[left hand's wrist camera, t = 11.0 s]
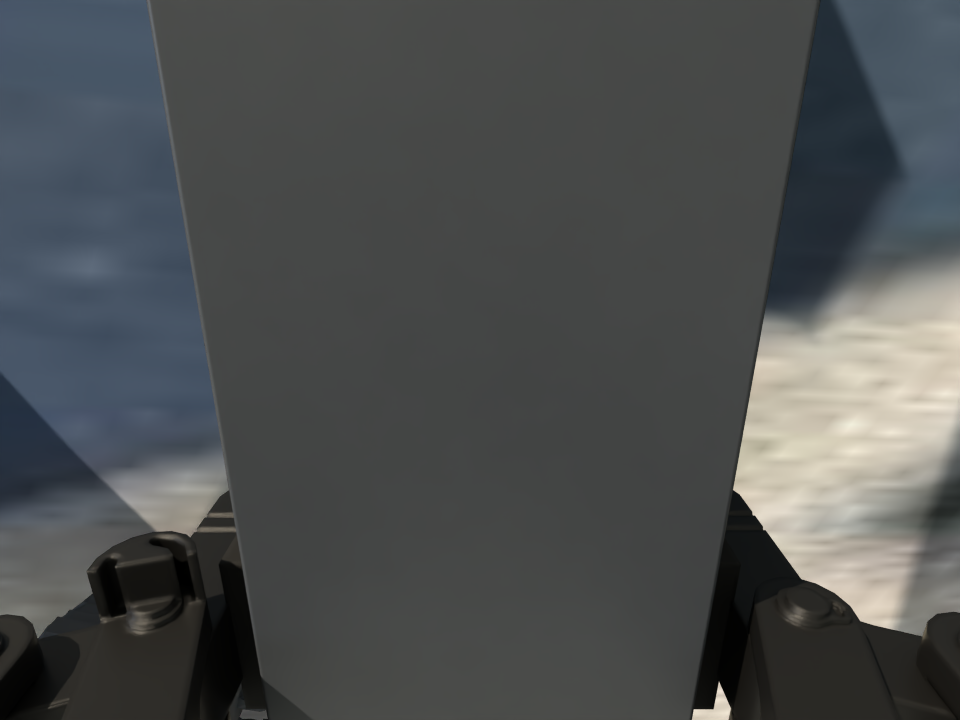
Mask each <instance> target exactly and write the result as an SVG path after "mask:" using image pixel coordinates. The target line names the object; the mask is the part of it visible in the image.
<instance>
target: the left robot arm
mask: <svg viewBox="0 0 960 720" xmlns="http://www.w3.org/2000/svg"><path fill="white" fill-rule="evenodd" d="M207 515H208V516H207V518H204V520H203V521H202V522H201V524H200V525H199V527H198V528H197V532H194V533H193V535H192V536H191V538H190V537H189V536H187V535H186V534H182V533H177V532H173V531H166V532H152V533H148V534H144V535H140V536H137V537H133V538H130V539H128V540H126V541H124V542H122V543H120V544H117V545H115V546H113V547H112V548H110V549H109V550H107V551H106V552H105V553H103V554H102V555H101V556H99V557H98V558H97V559H96V560H95V561H94V562H93V564H92V565H91V566H90V568H89V569H88V570H87V575H88V578H89V581H90V585H91V588H92V592H93V595H94V599H95V602H96V606H97V609H98V613H99V616H100V620H101V621H100V624H97V625H94V626H91V627H87V628H84V629H79V630H75V631H71V632H66V633H62V634H58V635H53V636H49V637H45V638H40V639H38V638H37V635H36V633H35V630H34V627H33V624H32V623H31V622H29V621H28V620H27V619H26V618H24V617H23V616H15V615H1V616H0V720H231V716H230V711H229V709H230V707H231V704H232V702H233V700H234V698H235V695H236V693H237V691H238V688H239V686H240V684H241V685H242V691H243V696H244V701H245V706H246V709H266V705H265V699H264V693H263V687H262V681H261V675H260V669H259V663H258V657H257V651H256V645H255V639H254V634H253V628H252V622H251V616H250V610H249V604H248V598H247V592H246V586H245V580H244V574H243V569H242V563H241V557H240V551H239V545H238V539H237V533H236V527H235V521H234V515H233V509H232V503H231V498H230V492H229V491H227V492H226V493H225V494H223V495H222V496H220V497H219V499H218V500H217V502H216V503H215V504H214V506H213V507H212V509H211V510H210V511H209V513H208V514H207ZM719 682H720V684H721V687H722V689H723V691H724V693H725V696H726V698H727V700H728V703H729V705H730V707H731V711H730V716H729V720H960V613H957V612H949V613H941V614H936V615H935V616H934V617H933V618H931V619H930V620H929V621H928V622H927V625H926V628H925V631H924V634H923V637H922V636H918V635H913V634H909V633H904V632H900V631H896V630H891V629H887V628H883V627H878V626H874V625H871V624H867V623H864V622H861V621H860V620H859V619H858V617H857V616H856V614H855V613H854V611H853V610H852V608H851V607H850V606H849V605H848V604H847V603H846V602H845V601H843V600H842V599H841V598H840V597H839V596H837V595H836V594H835V593H833V592H831V591H829V590H827V589H825V588H823V587H821V586H820V585H818V584H816V583H812V582H809V581H805V580H802V579H801V578H800V577H799V576H798V574H797V573H796V571H795V570H794V569H793V567H792V566H791V565H790V563H789V562H788V560H787V559H786V558H785V556H784V555H783V554H782V552H781V551H780V549H779V548H778V547H777V545H776V544H775V543H774V541H773V540H772V538H771V537H770V536H769V534H768V533H767V532H766V530H763V526H762V525H761V523H760V522H759V521H758V519H757V518H756V516H753V515H752V511H751V510H750V508H749V507H748V505H747V504H746V503H745V501H744V500H743V499H742V497H741V496H740V495H739V494H738V493H736V492H735V491H734V490H733V492H732V498H731V503H730V509H729V514H728V520H727V526H726V531H725V537H724V542H723V548H722V553H721V559H720V565H719V570H718V576H717V581H716V587H715V593H714V598H713V604H712V609H711V615H710V621H709V626H708V632H707V637H706V643H705V649H704V654H703V660H702V665H701V671H700V676H699V682H698V688H697V693H696V699H695V704H694V709H714V704H715V699H716V693H717V688H718V683H719Z"/></svg>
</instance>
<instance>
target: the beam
mask: <svg viewBox="0 0 960 720" xmlns="http://www.w3.org/2000/svg"><path fill="white" fill-rule="evenodd" d="M146 1H147V7H148V13H149V19H150V24H151V30H152V36H153V42H154V48H155V54H156V60H157V66H158V72H159V78H160V84H161V90H162V95H163V101H164V107H165V113H166V119H167V125H168V131H169V137H170V143H171V149H172V155H173V160H174V166H175V172H176V178H177V184H178V190H179V196H180V202H181V208H182V214H183V220H184V226H185V231H186V237H187V243H188V249H189V255H190V261H191V267H192V273H193V279H194V285H195V291H196V296H197V302H198V308H199V314H200V320H201V326H202V332H203V338H204V344H205V350H206V356H207V362H208V367H209V373H210V379H211V385H212V391H213V397H214V403H215V409H216V415H217V421H218V427H219V432H220V438H221V444H222V450H223V456H224V462H225V468H226V474H227V480H228V486H229V492H230V498H231V503H232V509H233V515H234V521H235V527H236V533H237V539H238V545H239V551H240V557H241V563H242V569H243V574H244V580H245V586H246V592H247V598H248V604H249V610H250V616H251V622H252V628H253V634H254V639H255V645H256V651H257V657H258V663H259V669H260V675H261V681H262V687H263V693H264V699H265V705H266V710H267V716H268V720H692V716H693V710H694V704H695V699H696V693H697V688H698V682H699V676H700V671H701V665H702V660H703V654H704V649H705V643H706V637H707V632H708V626H709V621H710V615H711V609H712V604H713V598H714V593H715V587H716V581H717V576H718V570H719V565H720V559H721V553H722V548H723V542H724V537H725V531H726V526H727V520H728V514H729V509H730V503H731V498H732V492H733V486H734V481H735V475H736V470H737V464H738V458H739V453H740V447H741V442H742V436H743V430H744V425H745V419H746V414H747V408H748V403H749V397H750V391H751V386H752V380H753V375H754V369H755V363H756V358H757V352H758V347H759V341H760V335H761V330H762V324H763V319H764V313H765V307H766V302H767V296H768V291H769V285H770V280H771V274H772V268H773V263H774V257H775V252H776V246H777V240H778V235H779V229H780V224H781V218H782V212H783V207H784V201H785V196H786V190H787V184H788V179H789V173H790V168H791V162H792V156H793V151H794V145H795V140H796V134H797V129H798V123H799V117H800V112H801V106H802V101H803V95H804V89H805V84H806V78H807V73H808V67H809V61H810V56H811V50H812V45H813V39H814V33H815V28H816V22H817V17H818V11H819V6H820V0H146Z"/></svg>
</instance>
